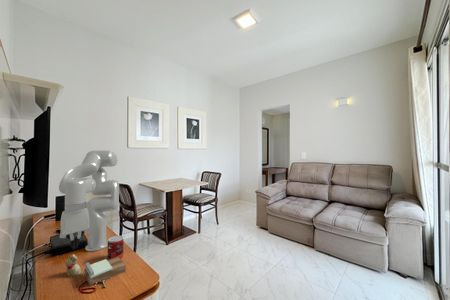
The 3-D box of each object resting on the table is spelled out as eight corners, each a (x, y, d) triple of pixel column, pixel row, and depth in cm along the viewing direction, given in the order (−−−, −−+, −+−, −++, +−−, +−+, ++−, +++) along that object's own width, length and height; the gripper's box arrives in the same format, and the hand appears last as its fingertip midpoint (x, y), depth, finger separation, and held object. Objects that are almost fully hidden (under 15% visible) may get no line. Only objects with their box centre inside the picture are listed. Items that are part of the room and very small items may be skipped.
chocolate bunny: (78, 268, 98) (78, 248, 98) (82, 274, 93) (82, 253, 93) (65, 273, 93) (65, 253, 94) (68, 280, 88) (68, 258, 89)
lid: (85, 268, 92) (85, 263, 92) (106, 260, 98) (106, 256, 98) (90, 278, 84) (90, 273, 84) (112, 269, 91) (112, 264, 91)
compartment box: (84, 274, 92) (84, 268, 92) (118, 261, 103) (118, 256, 103) (89, 286, 84) (89, 279, 84) (125, 271, 95) (125, 265, 95)
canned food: (109, 255, 110) (109, 236, 110) (124, 252, 112) (124, 234, 113) (105, 262, 102) (106, 242, 103) (122, 259, 105) (122, 239, 105)
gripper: (93, 202, 93) (92, 239, 93) (52, 209, 83) (52, 251, 82) (96, 205, 88) (96, 244, 87) (54, 212, 77) (53, 257, 77)
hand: (75, 247), depth 85 cm, fingers closed
